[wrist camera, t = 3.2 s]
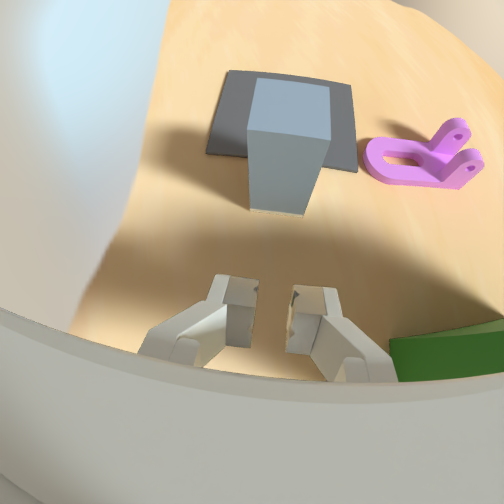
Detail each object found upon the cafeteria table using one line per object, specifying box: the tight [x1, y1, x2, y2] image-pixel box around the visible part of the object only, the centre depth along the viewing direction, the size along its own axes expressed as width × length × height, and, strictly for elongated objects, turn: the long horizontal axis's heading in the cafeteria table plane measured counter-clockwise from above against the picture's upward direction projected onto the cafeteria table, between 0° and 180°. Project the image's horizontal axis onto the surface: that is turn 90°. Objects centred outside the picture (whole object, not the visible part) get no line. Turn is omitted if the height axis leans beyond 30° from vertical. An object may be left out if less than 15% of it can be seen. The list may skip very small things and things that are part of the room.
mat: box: [206, 70, 358, 173], centre depth 31 cm, size 14×16×1 cm
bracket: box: [363, 118, 484, 190], centre depth 26 cm, size 13×6×7 cm, turn 92°
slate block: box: [247, 78, 331, 218], centre depth 23 cm, size 5×5×12 cm
